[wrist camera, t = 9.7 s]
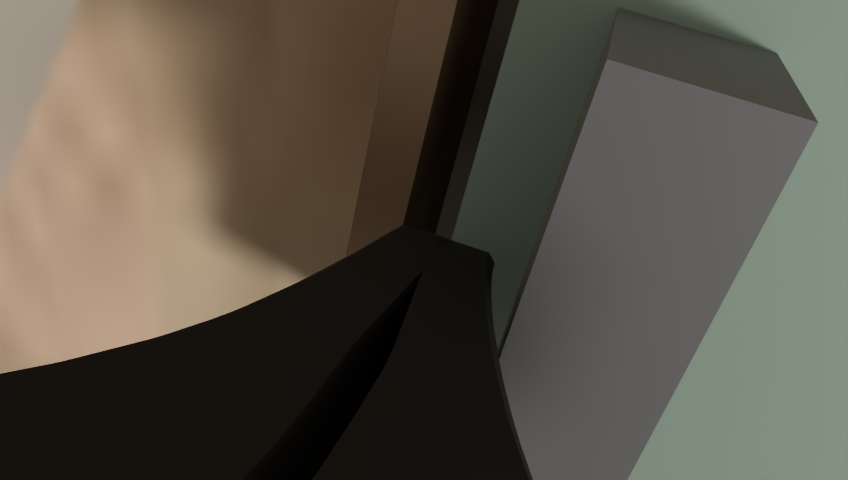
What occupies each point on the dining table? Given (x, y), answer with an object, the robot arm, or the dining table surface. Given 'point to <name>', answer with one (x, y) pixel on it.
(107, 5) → the dining table surface
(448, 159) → the brown wooden tray
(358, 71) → the dining table surface
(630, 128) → the lid
